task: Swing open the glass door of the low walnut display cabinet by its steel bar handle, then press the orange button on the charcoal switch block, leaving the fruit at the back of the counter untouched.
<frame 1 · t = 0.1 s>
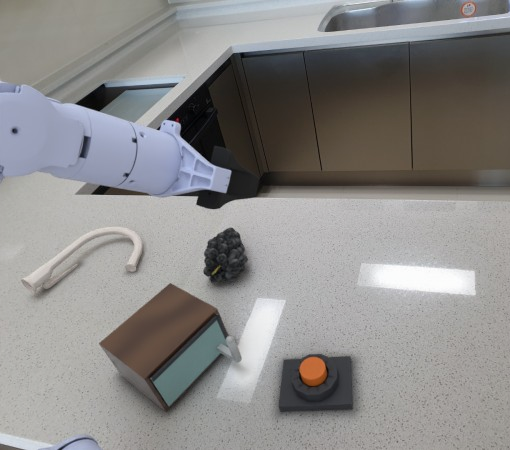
hand: (229, 180, 49), 33 cm above the table, tool tilted 50°, fingers open, 7 cm apart
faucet: (100, 270, 96), on the table
switch block: (317, 385, 66), on the table
light button: (313, 371, 64), point 3 cm above the table, slide at 0.1 cm
cabinet: (178, 360, 74), on the table
fruit: (233, 264, 90), on the table
glass door: (203, 365, 66), point 5 cm above the table, hinge at 0.0°
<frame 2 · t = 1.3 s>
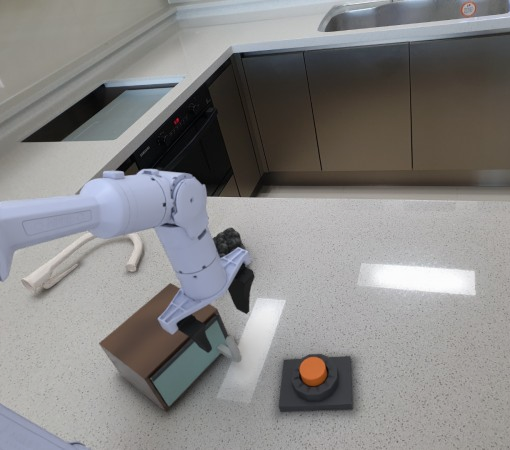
hand: (225, 328, 65), 9 cm above the table, tool pointing down, fingers open, 7 cm apart
nothing on the table moved.
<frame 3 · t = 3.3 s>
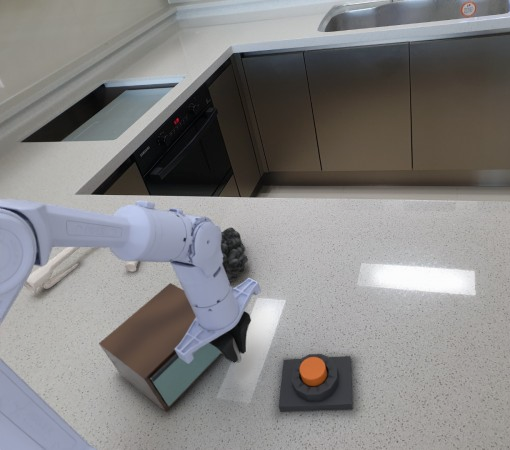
hand: (236, 354, 68), 3 cm above the table, tool pointing down, fingers closed on glass door
glass door: (203, 365, 66), point 5 cm above the table, hinge at 0.0°, touching gripper
everything else where it was.
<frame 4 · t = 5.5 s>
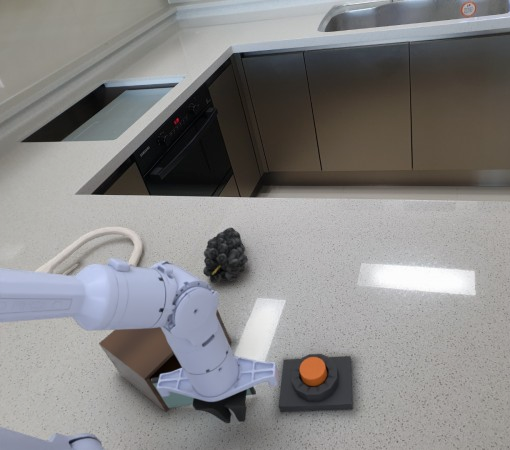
hand: (235, 415, 60), 3 cm above the table, tool pointing down, fingers closed, pressing on glass door
glass door: (203, 401, 62), point 5 cm above the table, hinge at 48.7°, touching gripper
everything else where it was.
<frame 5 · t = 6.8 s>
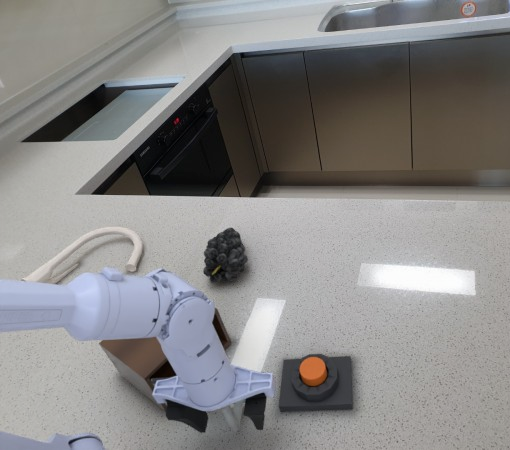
hand: (232, 424, 60), 3 cm above the table, tool pointing down, fingers open, 7 cm apart
glass door: (200, 406, 61), point 5 cm above the table, hinge at 54.4°
everything else where it was.
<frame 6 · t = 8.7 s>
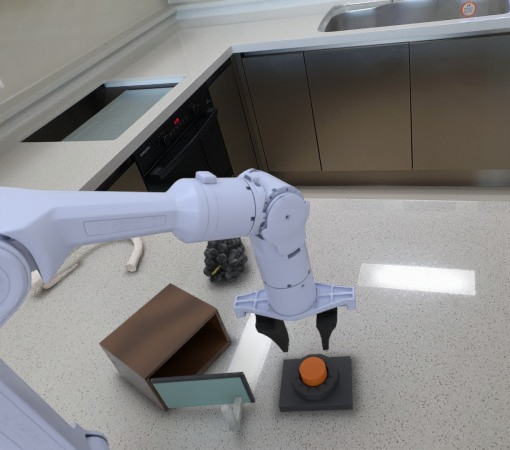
hand: (306, 345, 60), 9 cm above the table, tool pointing down, fingers open, 5 cm apart
nothing on the table moved.
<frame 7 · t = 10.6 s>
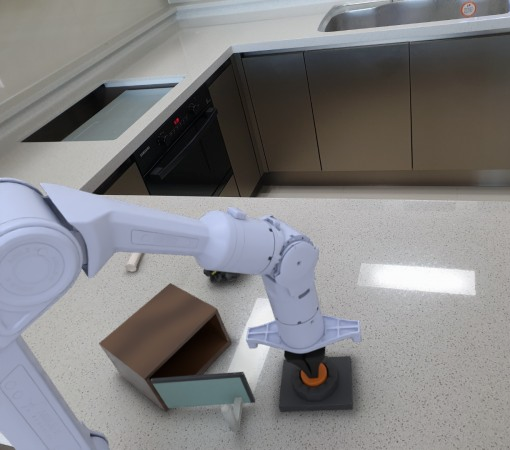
hand: (313, 372, 64), 3 cm above the table, tool pointing down, fingers closed, pressing on light button
light button: (314, 375, 64), point 2 cm above the table, slide at -0.9 cm, touching gripper
everything else where it was.
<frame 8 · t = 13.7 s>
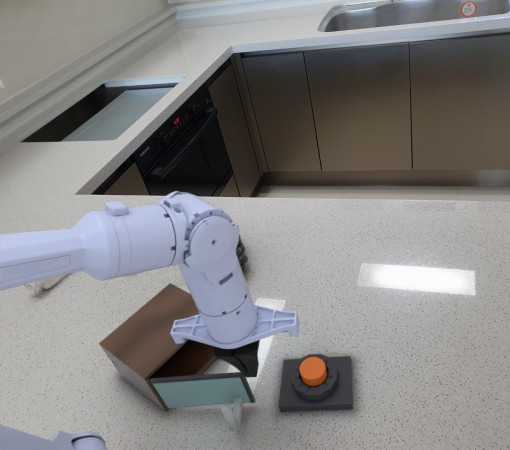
hand: (252, 370, 57), 10 cm above the table, tool pointing down, fingers closed
light button: (313, 371, 64), point 3 cm above the table, slide at 0.1 cm
everything else where it was.
at the end: glass door at +54° (first picture: +0°); light button pushed in 1.1 cm at the most during the clip, back to where it started at the end; fruit moved 0.2 cm from its start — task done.
